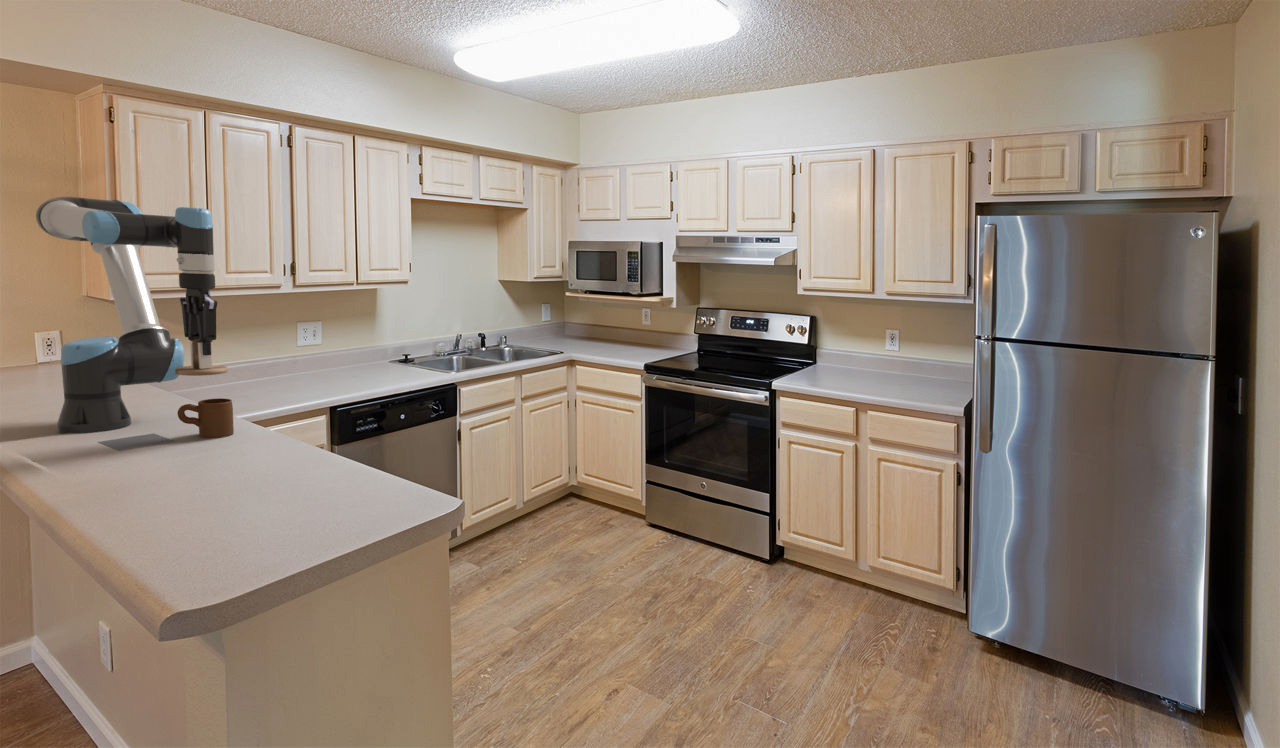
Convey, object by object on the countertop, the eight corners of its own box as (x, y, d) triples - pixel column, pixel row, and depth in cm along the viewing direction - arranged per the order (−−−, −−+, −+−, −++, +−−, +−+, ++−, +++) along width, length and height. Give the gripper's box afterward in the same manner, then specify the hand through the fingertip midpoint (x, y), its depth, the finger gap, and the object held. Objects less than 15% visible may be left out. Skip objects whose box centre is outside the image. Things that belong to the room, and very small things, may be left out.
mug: (181, 444, 172) (179, 406, 171) (176, 438, 178) (174, 401, 176) (237, 438, 180) (235, 402, 179) (230, 432, 186) (228, 397, 184)
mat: (97, 444, 169) (97, 441, 169) (153, 435, 179) (153, 433, 179) (120, 453, 163) (119, 450, 162) (176, 443, 173) (176, 441, 172)
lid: (166, 371, 175) (165, 339, 173) (213, 367, 184) (212, 337, 183) (189, 377, 169) (187, 343, 168) (236, 372, 178) (234, 340, 177)
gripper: (164, 270, 174) (169, 365, 177) (197, 273, 165) (202, 372, 169) (196, 271, 180) (201, 362, 184) (230, 273, 171) (234, 369, 175)
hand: (201, 367), depth 176 cm, fingers closed on lid, 3 cm apart
